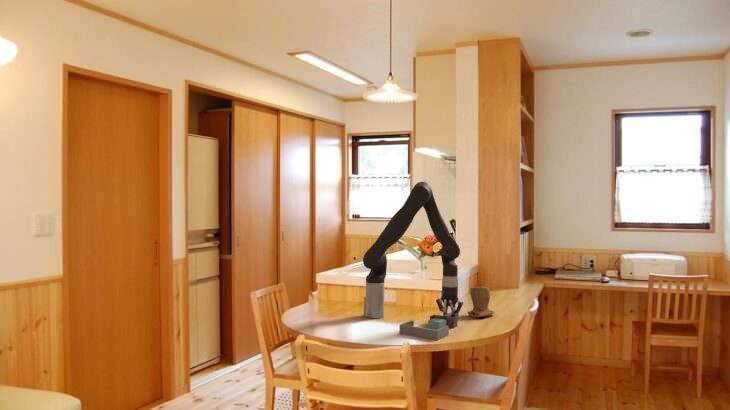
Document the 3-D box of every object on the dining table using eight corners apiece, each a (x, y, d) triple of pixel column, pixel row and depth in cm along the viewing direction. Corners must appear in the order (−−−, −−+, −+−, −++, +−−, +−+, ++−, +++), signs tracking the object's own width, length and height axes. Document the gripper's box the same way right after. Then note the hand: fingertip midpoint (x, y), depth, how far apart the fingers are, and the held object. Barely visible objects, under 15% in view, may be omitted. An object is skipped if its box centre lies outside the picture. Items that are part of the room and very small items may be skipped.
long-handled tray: (429, 324, 269) (429, 316, 269) (444, 318, 283) (444, 310, 283) (453, 328, 263) (453, 319, 263) (467, 321, 277) (467, 313, 277)
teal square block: (428, 329, 262) (428, 320, 261) (434, 326, 266) (434, 318, 266) (439, 331, 258) (439, 322, 258) (446, 328, 263) (446, 320, 263)
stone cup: (478, 311, 301) (479, 283, 300) (498, 315, 292) (498, 286, 292) (461, 315, 290) (461, 286, 290) (480, 319, 282) (481, 289, 281)
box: (399, 333, 251) (399, 324, 251) (411, 328, 260) (411, 320, 260) (437, 340, 241) (437, 330, 241) (448, 334, 250) (448, 325, 250)
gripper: (433, 284, 274) (432, 320, 274) (460, 287, 266) (459, 324, 267) (439, 282, 280) (439, 317, 280) (466, 285, 273) (466, 321, 273)
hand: (449, 320), depth 273 cm, fingers closed on long-handled tray, 3 cm apart
